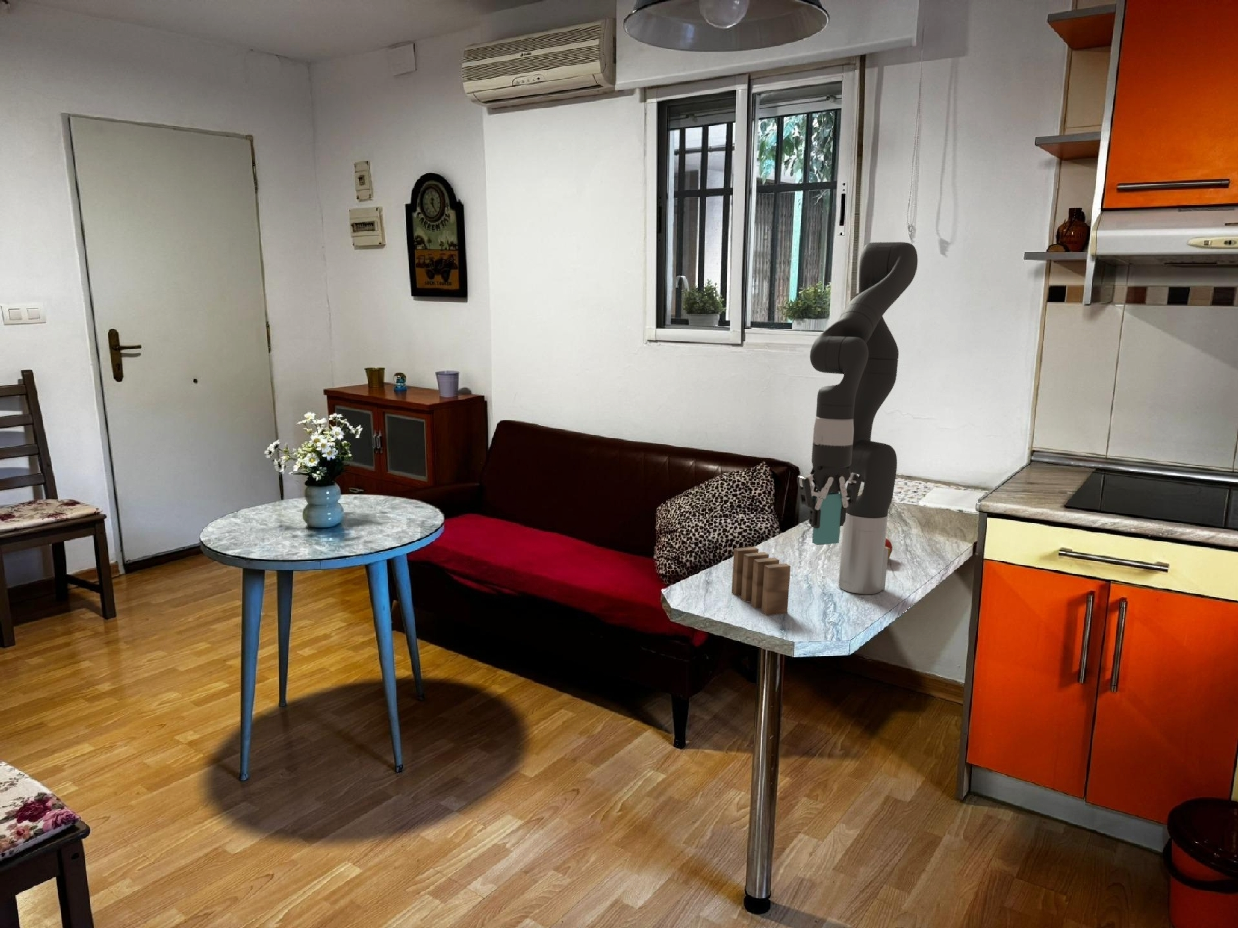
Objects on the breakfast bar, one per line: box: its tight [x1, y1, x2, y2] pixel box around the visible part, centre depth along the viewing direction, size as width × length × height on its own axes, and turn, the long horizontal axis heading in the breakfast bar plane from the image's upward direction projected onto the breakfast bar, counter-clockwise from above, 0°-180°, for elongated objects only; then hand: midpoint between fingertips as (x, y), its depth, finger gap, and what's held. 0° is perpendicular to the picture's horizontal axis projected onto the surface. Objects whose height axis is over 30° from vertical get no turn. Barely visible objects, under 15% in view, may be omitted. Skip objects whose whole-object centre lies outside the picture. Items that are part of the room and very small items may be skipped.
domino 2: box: [740, 551, 770, 602], centre depth 181 cm, size 5×2×10 cm, turn 111°
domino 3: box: [750, 557, 780, 610], centre depth 177 cm, size 5×2×10 cm, turn 111°
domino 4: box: [761, 562, 791, 616], centre depth 173 cm, size 5×2×10 cm, turn 111°
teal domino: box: [811, 492, 842, 546], centre depth 167 cm, size 5×2×10 cm, turn 111°
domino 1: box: [731, 546, 759, 596], centre depth 184 cm, size 5×2×10 cm, turn 111°
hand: (826, 525), depth 167 cm, fingers closed on teal domino, 5 cm apart
